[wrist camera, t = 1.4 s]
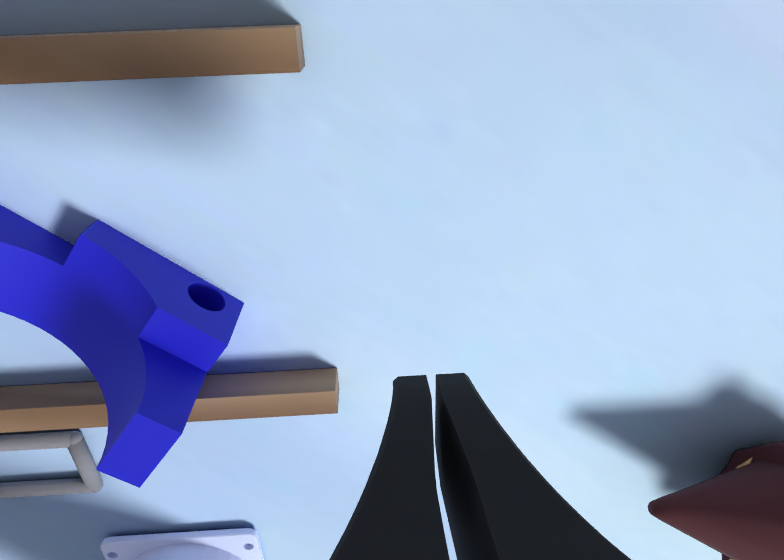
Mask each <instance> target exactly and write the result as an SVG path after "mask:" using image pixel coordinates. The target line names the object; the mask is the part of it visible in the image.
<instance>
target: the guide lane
mask: <svg viewBox="0 0 784 560" xmlns="http://www.w3.org/2000/svg"><path fill="white" fill-rule="evenodd" d="M304 66H305V61H304V52H303V42H302V33H301V24H292V25H266V26H240V27H215V28H189V29H163V30H137V31H112V32H86V33H60V34H35V35H9V36H0V85H1V84H26V83H50V82H74V81H98V80H123V79H147V78H171V77H195V76H220V75H244V74H268V73H292V72H301V70H302V69H303V68H304ZM338 401H339V383H338V373H337V368H327V369H309V370H291V371H273V372H255V373H237V374H220V375H206V376H205V379H204V381H203V384H202V386H201V389H200V391H199V393H198V396H197V398H196V401H195V403H194V406H193V408H192V410H191V413H190V415H189V418H188V420H187V422H194V421H212V420H229V419H246V418H263V417H280V416H298V415H315V414H332V413H338ZM91 427H108V413H107V407H106V403H105V399H104V396H103V393H102V391H101V388H100V386H99V384H98V382H97V381H94V382H76V383H58V384H40V385H23V386H5V387H0V433H5V432H22V431H39V430H57V429H74V428H91Z"/></svg>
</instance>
